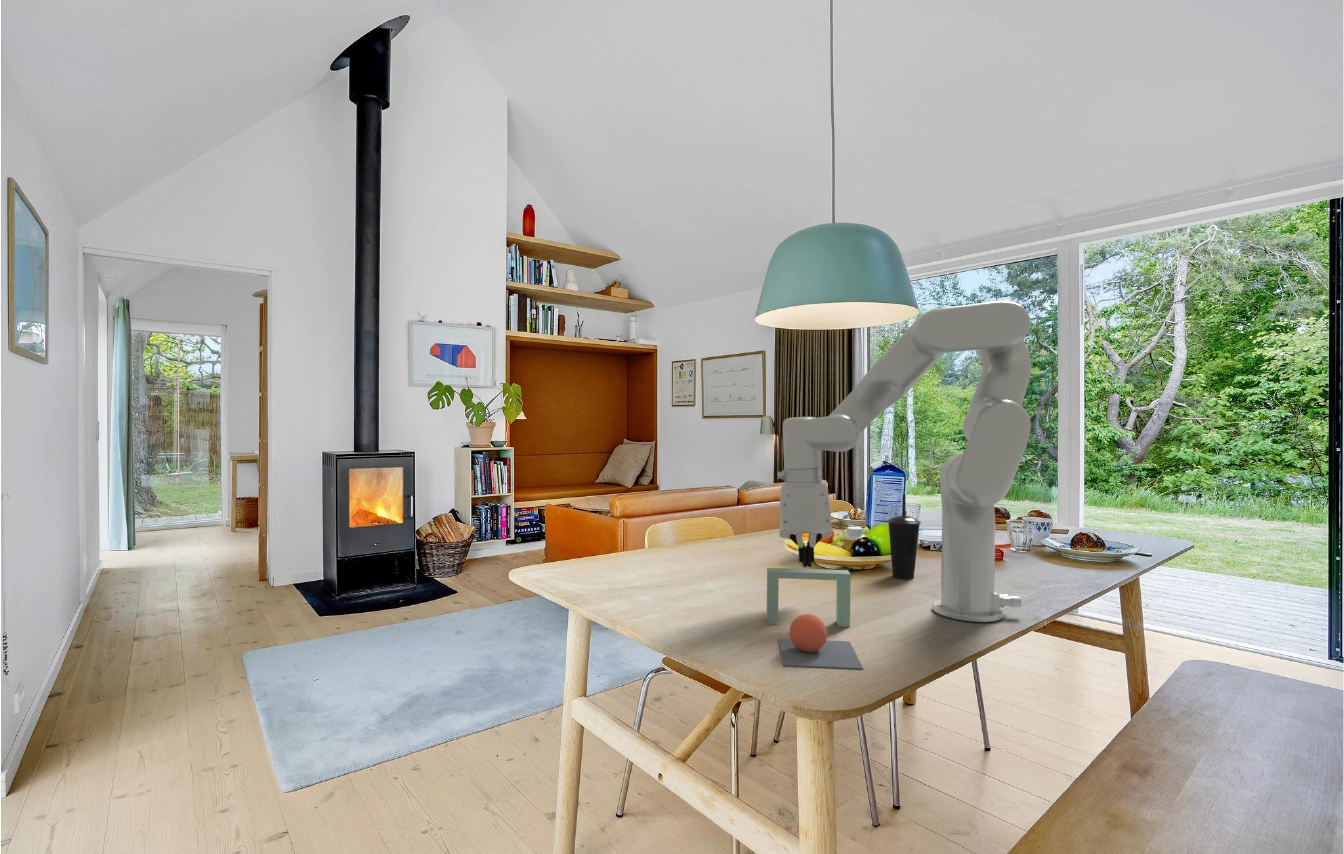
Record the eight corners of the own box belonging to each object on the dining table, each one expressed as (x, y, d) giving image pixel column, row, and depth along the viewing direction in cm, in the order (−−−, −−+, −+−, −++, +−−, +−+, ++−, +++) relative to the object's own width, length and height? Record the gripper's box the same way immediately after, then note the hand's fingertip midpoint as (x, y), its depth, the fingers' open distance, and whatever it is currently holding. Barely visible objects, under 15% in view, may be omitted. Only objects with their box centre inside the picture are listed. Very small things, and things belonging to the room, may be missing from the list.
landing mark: (849, 642, 110) (849, 641, 110) (863, 669, 98) (863, 668, 98) (778, 639, 111) (778, 638, 111) (783, 665, 99) (783, 664, 99)
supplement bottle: (855, 570, 162) (855, 530, 162) (838, 566, 167) (839, 527, 167) (870, 568, 166) (870, 528, 165) (853, 563, 170) (853, 525, 170)
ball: (828, 641, 101) (824, 662, 104) (829, 609, 105) (825, 631, 109) (789, 635, 102) (786, 656, 105) (792, 603, 106) (789, 625, 110)
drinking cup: (923, 575, 158) (924, 494, 157) (916, 582, 151) (917, 497, 151) (891, 571, 162) (891, 492, 161) (883, 577, 155) (883, 494, 155)
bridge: (766, 618, 123) (767, 567, 122) (847, 621, 121) (847, 570, 121) (767, 623, 120) (767, 571, 119) (850, 626, 118) (850, 573, 118)
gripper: (767, 479, 130) (771, 570, 130) (843, 477, 128) (846, 569, 128) (765, 476, 137) (769, 562, 137) (837, 474, 136) (840, 561, 136)
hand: (806, 565), depth 133 cm, fingers closed
